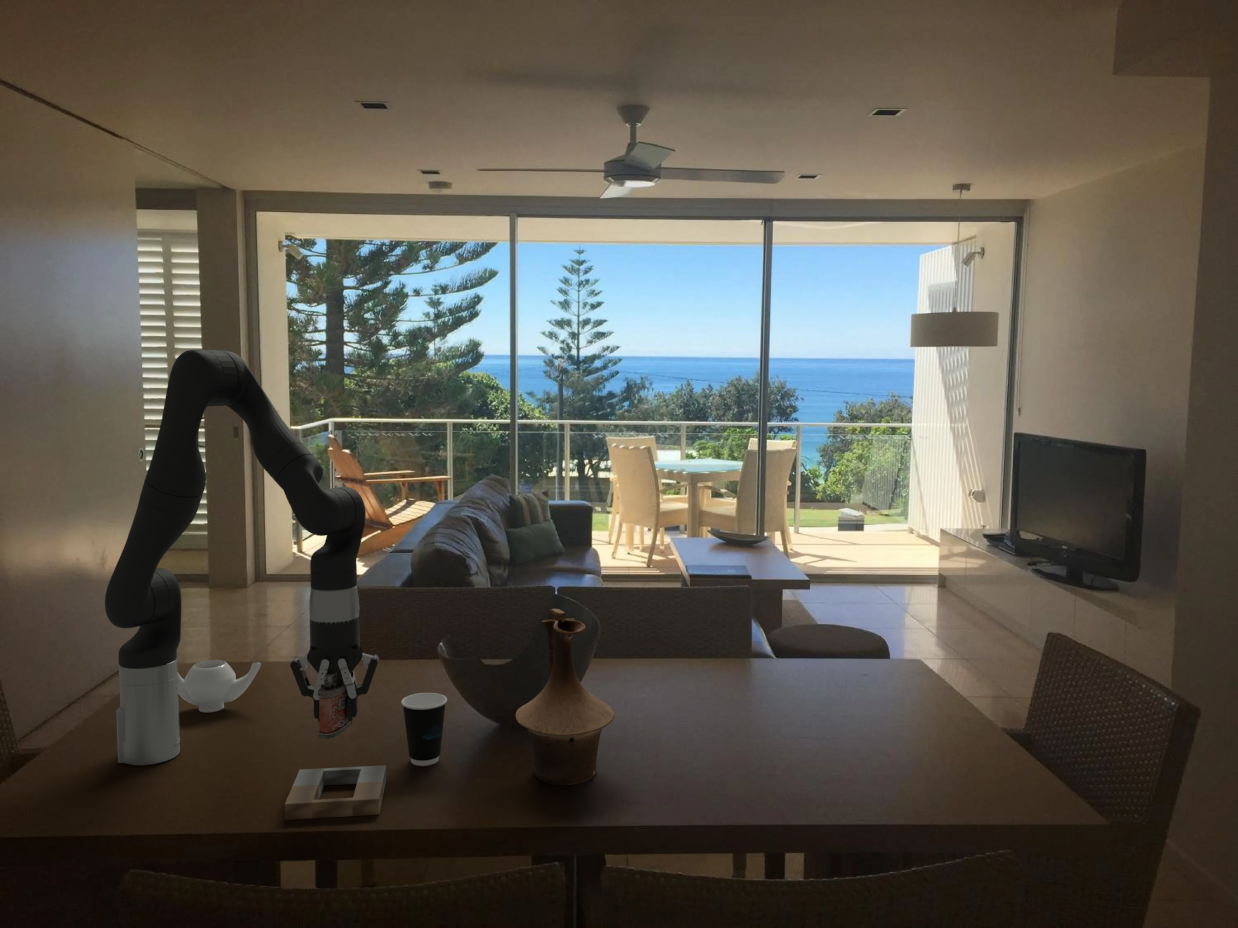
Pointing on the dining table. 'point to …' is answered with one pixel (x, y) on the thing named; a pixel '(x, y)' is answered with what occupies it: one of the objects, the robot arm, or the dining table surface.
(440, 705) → the dixie cup
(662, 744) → the dining table surface
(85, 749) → the dining table surface
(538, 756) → the pitcher
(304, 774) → the tan flat square frame
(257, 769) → the dining table surface
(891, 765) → the dining table surface
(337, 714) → the lighter
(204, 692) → the teapot
